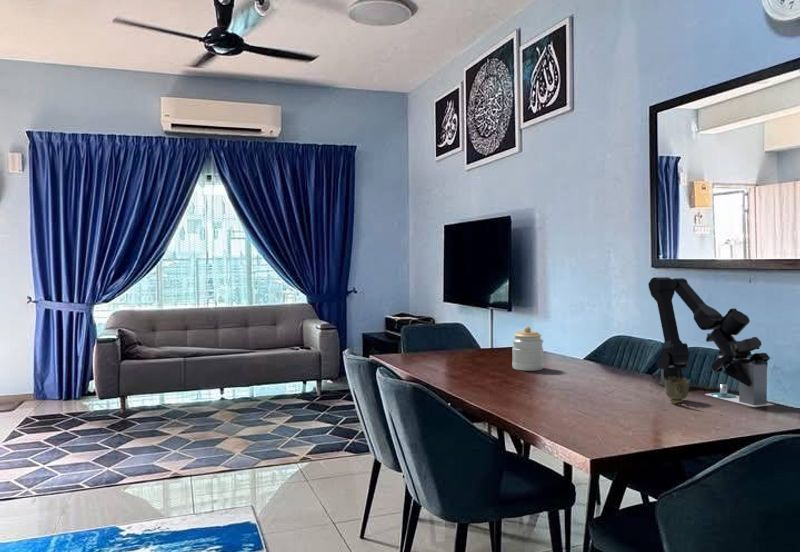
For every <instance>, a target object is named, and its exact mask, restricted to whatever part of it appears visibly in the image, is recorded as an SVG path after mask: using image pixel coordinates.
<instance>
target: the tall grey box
mask: <svg viewBox="0 0 800 552" xmlns="http://www.w3.org/2000/svg"><path fill="white" fill-rule="evenodd" d="M741 368H742V370H743V372H744V373H745V375H746V376H747V378H748V379H749V381H750V383H751V385H750V386H747V385H745V384H743V383H741V382H740V381H738V383H739V384H738V385H739V386H738V388H739V389H738V396H739V402H742V403H746V404H750V405H762V404H767V403H768V399H767V398H768V397H767V395H768V390H767V388H768V365H767V364H766V363H765V364H760V363H754V362H748V363H741Z"/></svg>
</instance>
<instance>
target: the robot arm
mask: <svg viewBox="0 0 800 552" xmlns="http://www.w3.org/2000/svg"><path fill="white" fill-rule="evenodd" d="M648 289H649V294H650V295H651V297H652V298H653V299H654V300H655V301H656V304H657V310H658V313H659V319H660V324H661V328H662V329H661V330H662V335H663V340H664V341H663V344H662V348H661V356H660V357H659V359H658V360H657V361H656V362H655V363H656V364H655V365H656V368H657V369H660V382H658V383H659V384H660V385H661V386H663V387H664V388H665V384H664V378H666V379H668V377H669V376H670V377H671V378H672V377H673V376H675V377H676V378H677V379H678V378H679V377H680V378H681V379H682V378H683V377H684V372H683V370H682V369H686V367H687V364H688V361H689V360H690V357H689V356H690V354H691V353H690V352H689V345H688V343H685V342H682V340H680V334H679V331H678V324H677V320H676V314H675V310H674V304H673V299H674V295H675V293H676V294H677V296H679V298H680V299H681V300H682V302H684V304H685V305H686V306H687V307H688V309H689V310H690V311H691V313H692V314H693V320H694V322H695V323H696V326H698V329H700V330H701V331H711V332H710V333H707V335H706V339H705V342H706V343H711V342H714V344H715V346H716V347H717V348H718V350H719V351H718V353H717V354H718V357H716V359H715V360H714V361H713V362H712V363H711V370H712V371H713V373H715V374H718V373H719V374H720V373H723V375H727V376H729V377H731V378H732V379H734V380H736V381H738V382H739V381H740V382H741V383H743V384H745V385H747V386H750V385H751V383H750V381H749V379H748V378H747V376H746V375H745V373H744V372H743V370H742V368H741V363H748V362H754V363H760V364H766V363H768V361H769V360H771V357H770V356H769V354H768V353H766V352H754V353H753V354H752V352H753V351H756V350H759V349H760V347H761V346H762V341H761V340H760V339H759V338H758V337H757V336H753V337H749V338H746V339H742V340H736V339H735V337H734V336H738V335H739V334H740V333H742V331H743V330H744V329H745V328H746V327H747V325H748V324H750V322H751V321H750V318H749V316H748V315H747V314H745V313H743V312H742V311H739V310H737V308H736V307H735V308H729V310H728V311H727V313H726V314H725V315H724V316H723V315H722V313H720V312H719V311H718V310H716V309H715V308H714V307H712V306H709V305H708V304H707V303H706V302H704V300H703V299H702V298H701V297H700V295H698V293H697V292H696V291H695V290H694V289H693V288H692V287H691V286H690V284H689V283H688V281H687V279H685V277H684V278H683V277H679V278H678V277H675V278H671V277H669V276H665V277H664V276H660V277H659V276H658V277H657V276H656V277H652V278H651V279H650V280H649V282H648ZM751 354H752V355H751ZM750 355H751V356H750ZM748 356H750V357H748ZM723 368H724V369H723ZM723 370H724V371H723Z"/></svg>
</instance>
